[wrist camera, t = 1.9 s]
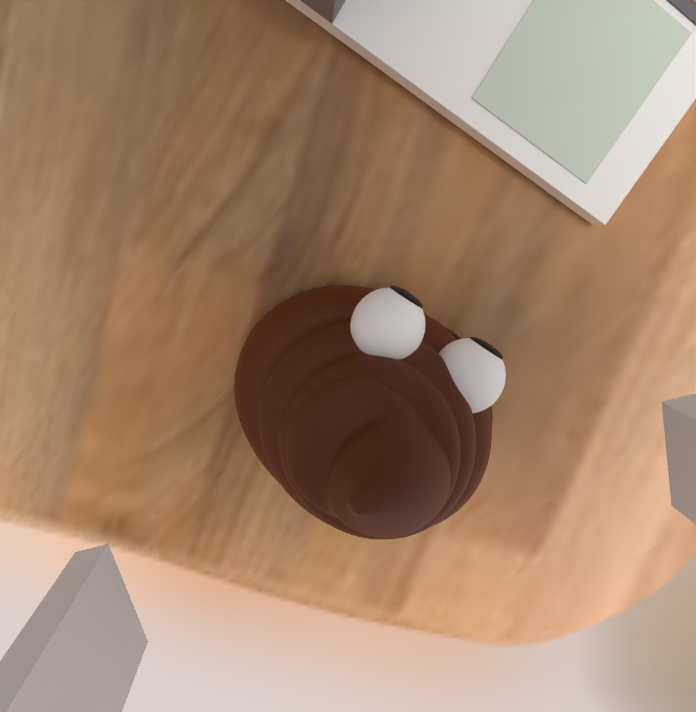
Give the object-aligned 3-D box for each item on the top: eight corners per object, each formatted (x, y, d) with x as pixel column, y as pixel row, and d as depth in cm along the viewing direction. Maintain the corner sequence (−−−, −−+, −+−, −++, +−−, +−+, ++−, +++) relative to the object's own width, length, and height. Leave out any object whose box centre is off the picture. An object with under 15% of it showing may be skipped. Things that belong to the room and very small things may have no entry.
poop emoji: (199, 416, 21) (119, 566, 12) (312, 227, 20) (315, 241, 11) (408, 528, 23) (470, 728, 14) (526, 364, 22) (680, 472, 13)
